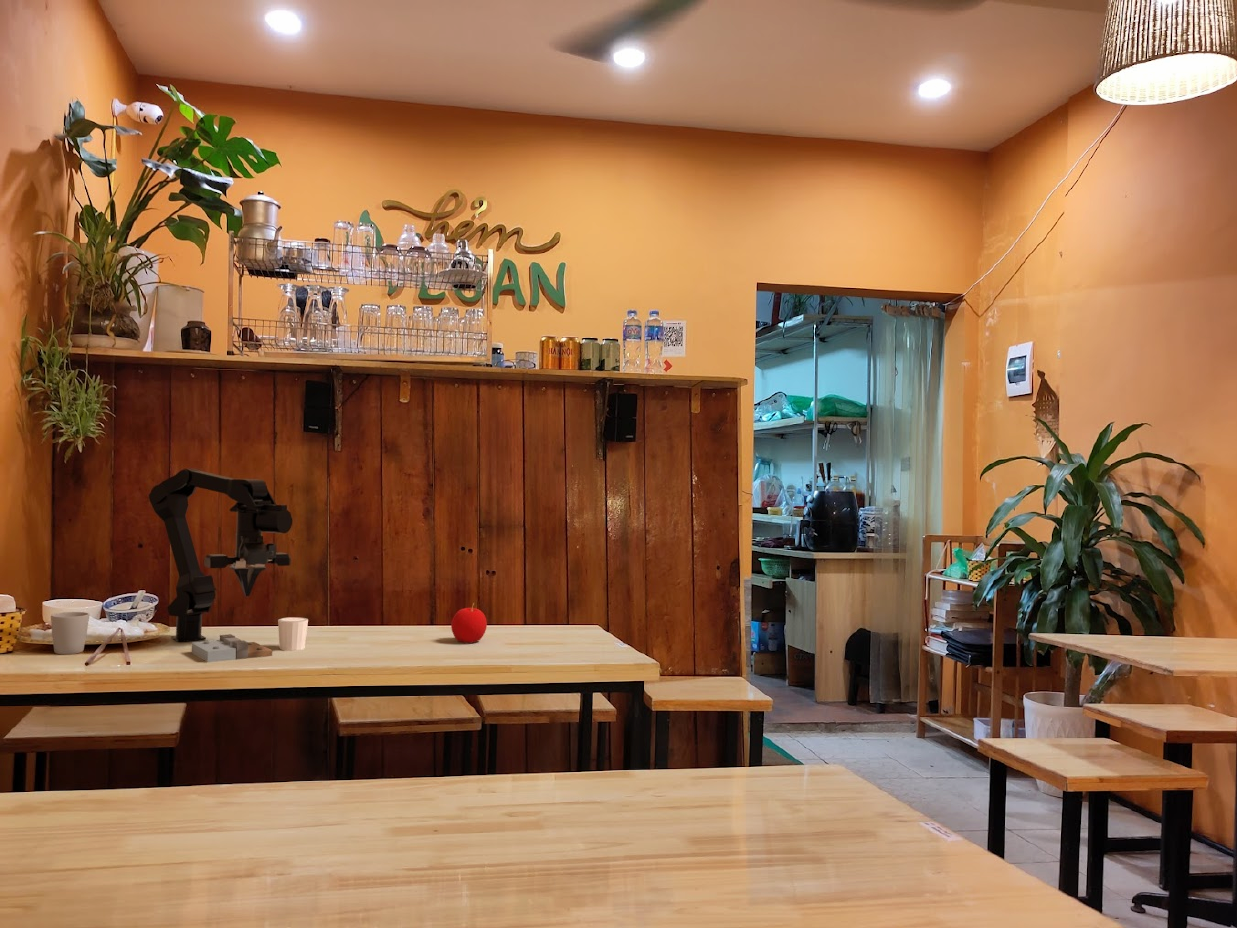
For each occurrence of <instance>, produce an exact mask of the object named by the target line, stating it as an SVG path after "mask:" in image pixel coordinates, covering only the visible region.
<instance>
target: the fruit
mask: <svg viewBox="0 0 1237 928" xmlns="http://www.w3.org/2000/svg"><path fill="white" fill-rule="evenodd" d="M474 605H475V602H472V606H471V607H464V608H461V609H459V610H457V612H455V614H454V616H453V618H452V620H451V631H452V633H453V637H454V638H455V640H456V641H458V642H460V643H464V644H465V643H466V644H467V643H468V644H471V643H474V642H479V641H481V639H482V638H483V637H484V635H485V633H486V631H487V625H488V624H487V621H488V620H487V618H486V615H485V614H484V612H483V611H481V610H480V609H478V608H475V607H474Z"/></svg>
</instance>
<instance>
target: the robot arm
mask: <svg viewBox="0 0 1237 928" xmlns="http://www.w3.org/2000/svg"><path fill="white" fill-rule="evenodd" d="M197 488H200V489H203V490H209V491H213V492H215V493H216V492H217V493H221V494H223V495H226V496H227V497H228V498H229V499H231V500H232V501H235V504H234V505H233V506H231V507H230V508H229V512H232V513H233V512H234V513H236V533H235V535H234V539H235V551H234V556H228V555H226V554H223V553H215V554H214V553H213V554H212V553H209V554H207V555H205V557H204V559H203V560H204V563H203V564H204V567H205V568H209V569H225V568H226V567H227V566H228V565H230V566H229V567H228V568H229V570H232V571H233V572H234V574H235V575H236V577H237V578H238V581H239V583H240V587H241V590H242V591H243V592H242V593H243V595H244V596H245V597H250V595H251V592H252V590H253V588H254V586H255V584H256V580H257V578H258V577H259V575H260V574H261V573H262V571H266V570H267V567H266V565H267V564H271V565H272V564H273V565H274V564H276V566H278V567H283V566H286V567H287V566H291V565H292V563H291V562H292V559H291V555H290V554H288V553H285V552H282V551H281V552H279V551H278V552H277V547H278V546H277V544H276V543H267V544H265V543H264V535H263V533H272V534H286V533H288V532H290V531H291V529H292V526H293V522H294V521H293V517H292V515H291V512H290V511H289V510H288V505H287V504H277V503H276V501H275V499H274V498H273V497H272V495H271V493H270V491H269V489H268V485H267V483H266V481H265V480H263V479H259V478H258V479H256V478H255V479H254V478H250V479H249V478H233V477H230V476H224V475H219V474H217V473H216V474H215V473H211V472H206V471H202V470H200V469H198V468H183V469H181V470H180V471H178V472H177V473H176V474H174V475H173V476H171V477H168V478H167V479H165V480H162V481H161V482H160V483H159V484H157V485H154V486H153V487H152V488H151V489H150V492H149V494H148V500H149V503H150V505H151V507H152V509H153V512H154V513H155V514H156V515H157V516H158V517H159V519H161V520H162V521H163V523H164V527H165V530H166V533H167V538H168V540H169V541H168V542H169V544H170V547H171V548H170V549H171V551H172V555H173V558H174V562H175V565H176V569H177V574H178V580H177V583H176V586H175V587H176V588H175V591H176V597H175V598H174V599H173V601H171V603H170V604H169V605H168V606H167V612H168V615H169V617H171V616H172V617H176V625H175V626H176V628H175V629H176V630H175V635H171V636H170V637H171V639H173V640H174V641H176V642H178V643H179V642H181V643H182V642H189V641H190V642H191V641H192V642H194V641H205V640H206V639H207V637H206V636H204V635H202V628H203V627H202V624H203V614H205V613H206V614H207V613H210V611H211V609H212V605H213V604H214V601H215V599H216V591H217V590H218V589H217V588H216V586H215V584H214V578H213V576H212V575H211V574H207V575H205V573H203V572H202V571H201V568H200V564H199V559H198V557H197V553H196V551H195V545H194V542H193V539H192V535H191V533H190V528H189V525H188V521H187V517H186V515H187V511H188V508H189V498H190V497H191V496H193V495H194V493H195V491H196V490H197Z"/></svg>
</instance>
